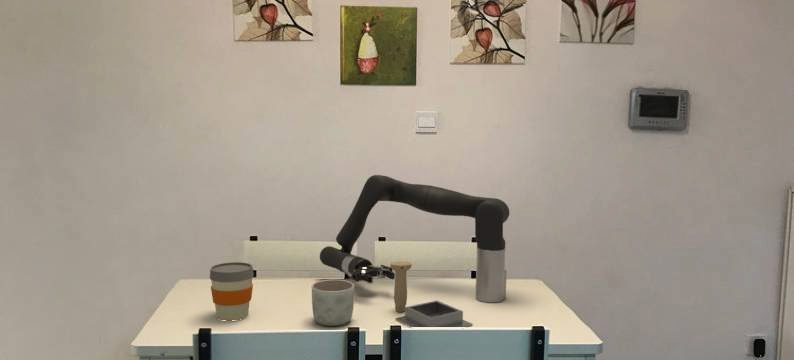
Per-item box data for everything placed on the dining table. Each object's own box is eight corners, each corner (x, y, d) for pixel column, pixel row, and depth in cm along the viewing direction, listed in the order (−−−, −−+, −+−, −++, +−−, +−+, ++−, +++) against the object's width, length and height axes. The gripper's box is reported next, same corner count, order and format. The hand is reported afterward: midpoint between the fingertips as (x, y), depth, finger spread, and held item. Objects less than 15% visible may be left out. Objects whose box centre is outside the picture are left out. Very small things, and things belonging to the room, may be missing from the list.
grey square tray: (437, 310, 183) (438, 297, 182) (472, 325, 170) (472, 312, 169) (395, 320, 174) (395, 306, 173) (428, 337, 160) (428, 322, 160)
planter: (318, 331, 164) (318, 293, 162) (306, 317, 175) (306, 281, 174) (360, 325, 169) (360, 288, 167) (346, 312, 180) (346, 277, 179)
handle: (411, 313, 180) (412, 265, 178) (391, 313, 179) (391, 265, 177) (409, 307, 185) (410, 261, 183) (389, 308, 184) (389, 261, 182)
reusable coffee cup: (231, 326, 166) (230, 275, 165) (201, 318, 173) (200, 268, 171) (263, 314, 177) (262, 265, 175) (234, 306, 184) (233, 260, 182)
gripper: (338, 259, 198) (364, 269, 185) (374, 254, 206) (400, 263, 193) (338, 281, 199) (363, 293, 186) (374, 274, 207) (400, 286, 194)
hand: (382, 278), depth 189 cm, fingers open, 8 cm apart
